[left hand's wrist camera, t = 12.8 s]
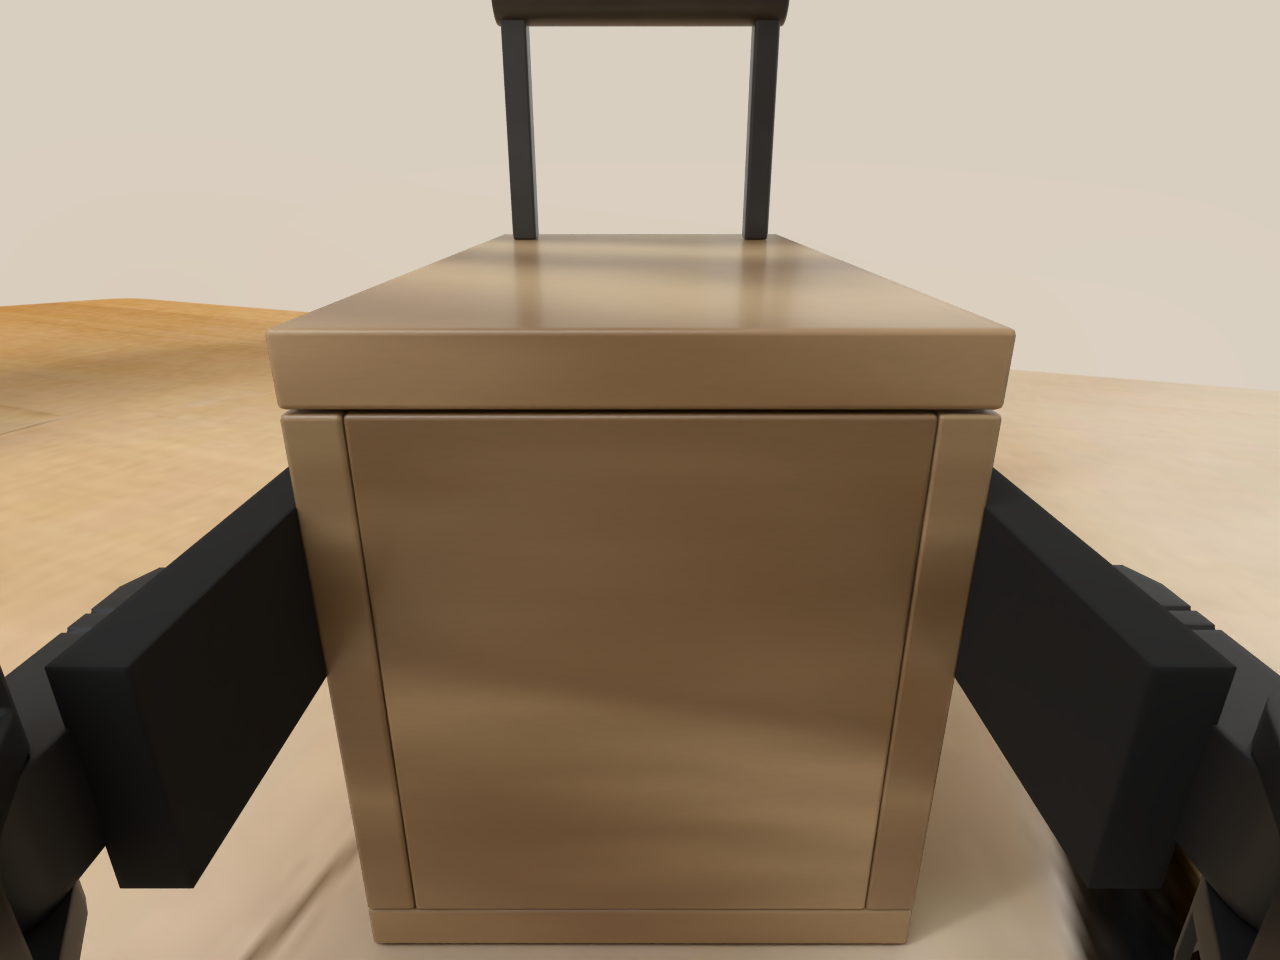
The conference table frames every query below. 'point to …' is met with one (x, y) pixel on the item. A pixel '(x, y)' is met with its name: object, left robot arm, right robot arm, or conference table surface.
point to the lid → (640, 295)
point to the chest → (640, 662)
